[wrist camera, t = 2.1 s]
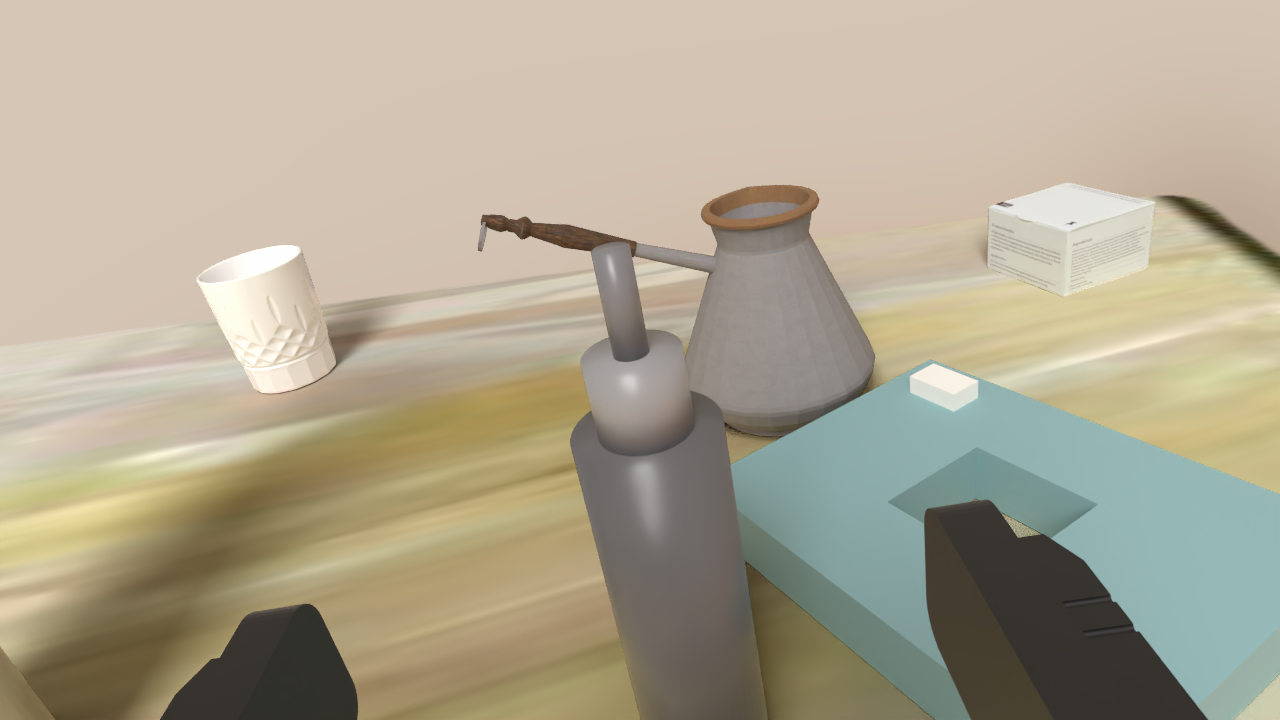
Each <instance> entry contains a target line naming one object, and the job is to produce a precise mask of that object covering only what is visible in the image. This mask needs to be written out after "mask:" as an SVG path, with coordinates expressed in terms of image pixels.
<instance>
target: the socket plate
mask: <svg viewBox="0 0 1280 720" xmlns="http://www.w3.org/2000/svg"><path fill="white" fill-rule="evenodd" d="M730 466H731V472H732V479H733V486H734V493H735V499H736V506H737V513H738V520H739V526H740V533H741V540H742V547H743V553H744V560H745V561H746V562H747V563H749V564H750V565H751V566H752V567H753V568H754V569H756V570H757V571H758V572H759V573H760V574H762V575H763V576H764V577H765V578H766V579H768V580H769V581H770V582H771V583H772V584H774V585H775V586H776V587H777V588H778V589H780V590H781V591H782V592H783V593H784V594H786V595H787V596H788V597H789V598H790V599H792V600H793V601H794V602H795V603H796V604H798V605H799V606H800V607H801V608H802V609H803V610H805V611H806V612H807V613H808V614H809V615H811V616H812V617H813V618H814V619H815V620H817V621H818V622H819V623H820V624H821V625H823V626H824V627H825V628H826V629H827V630H829V631H830V632H831V633H832V634H833V635H835V636H836V637H837V638H838V639H839V640H841V641H842V642H843V643H844V644H845V645H846V646H848V647H849V648H850V649H851V650H852V651H854V652H855V653H856V654H857V655H858V656H860V657H861V658H862V659H863V660H864V661H866V662H867V663H868V664H869V665H870V666H872V667H873V668H874V669H875V670H876V671H878V672H879V673H880V674H881V675H882V676H884V677H885V678H886V679H887V680H888V681H890V682H891V683H892V684H893V685H894V686H895V687H897V688H898V689H899V690H900V691H901V692H903V693H904V694H905V695H906V696H907V697H909V698H910V699H911V700H912V701H913V702H915V703H916V704H917V705H918V706H919V707H921V708H922V709H923V710H924V711H925V712H927V713H928V714H929V715H930V716H931V717H933V718H934V719H935V720H971V718H970V716H969V714H968V712H967V710H966V708H965V706H964V703H963V701H962V699H961V697H960V695H959V693H958V690H957V688H956V686H955V684H954V682H953V680H952V677H951V675H950V673H949V671H948V669H947V667H946V664H945V662H944V660H943V658H942V656H941V654H940V651H939V649H938V646H937V644H936V641H935V638H934V635H933V632H932V628H931V624H930V620H929V615H928V609H927V602H926V574H925V539H924V515H925V511H926V510H927V509H928V508H934V507H940V506H946V505H953V504H959V503H966V502H971V501H973V500H974V499H977V500H985V499H987V500H990V501H991V502H992V503H994V505H995V506H996V507H997V508H998V510H999V511H1000V512H1002V513H1004V514H1006V515H1008V516H1009V517H1011V518H1013V519H1015V520H1017V521H1019V522H1021V523H1023V524H1024V525H1026V526H1028V527H1030V528H1032V529H1034V530H1036V531H1038V532H1040V533H1041V534H1045V535H1046V536H1048V537H1049V538H1051V539H1052V540H1054V541H1055V542H1057V543H1058V544H1060V545H1061V546H1063V547H1065V548H1066V549H1068V550H1069V551H1071V552H1072V553H1074V554H1075V555H1077V556H1078V557H1080V558H1081V559H1083V560H1084V561H1085V562H1086V563H1087V565H1088V566H1089V567H1090V569H1091V570H1092V571H1093V572H1094V574H1095V575H1096V576H1097V578H1098V579H1099V580H1100V581H1101V583H1102V584H1103V585H1104V587H1105V588H1106V589H1107V590H1108V592H1109V593H1110V594H1111V599H1112V601H1113V602H1117V603H1118V605H1119V606H1120V607H1121V608H1122V610H1123V611H1124V612H1125V614H1126V615H1127V616H1128V617H1129V619H1130V620H1131V621H1132V623H1133V626H1134V629H1135V631H1136V632H1137V631H1140V633H1141V634H1142V635H1143V637H1144V638H1145V639H1146V640H1147V642H1148V643H1149V644H1150V646H1151V647H1152V648H1153V649H1154V651H1155V652H1156V653H1157V655H1158V656H1159V657H1160V658H1161V660H1162V661H1163V662H1164V664H1165V665H1166V666H1167V667H1168V669H1169V670H1170V671H1171V673H1172V674H1173V675H1174V676H1175V678H1176V679H1177V680H1178V682H1179V683H1180V684H1181V685H1182V687H1183V688H1184V689H1185V691H1186V692H1187V693H1188V694H1189V696H1190V697H1191V698H1192V700H1193V701H1194V702H1195V703H1196V705H1197V706H1198V707H1199V709H1200V710H1201V711H1202V712H1203V714H1204V715H1205V716H1206V718H1207V719H1208V720H1234V719H1235V718H1236V717H1237V716H1238V715H1239V714H1240V713H1241V712H1242V711H1243V710H1244V709H1245V708H1246V707H1247V706H1248V705H1249V704H1250V703H1251V702H1252V701H1253V700H1254V699H1255V698H1256V697H1257V696H1258V695H1259V694H1260V693H1261V692H1262V691H1263V690H1264V689H1265V688H1266V687H1267V686H1268V685H1269V684H1270V683H1271V682H1272V681H1273V680H1274V679H1275V678H1276V677H1277V676H1278V675H1279V674H1280V494H1278V493H1275V492H1272V491H1270V490H1267V489H1265V488H1262V487H1259V486H1257V485H1254V484H1252V483H1249V482H1246V481H1244V480H1241V479H1239V478H1236V477H1234V476H1231V475H1228V474H1226V473H1223V472H1221V471H1218V470H1215V469H1213V468H1210V467H1208V466H1205V465H1202V464H1200V463H1197V462H1195V461H1192V460H1189V459H1187V458H1184V457H1182V456H1179V455H1177V454H1174V453H1171V452H1169V451H1166V450H1164V449H1161V448H1158V447H1156V446H1153V445H1151V444H1148V443H1145V442H1143V441H1140V440H1138V439H1135V438H1133V437H1130V436H1127V435H1125V434H1122V433H1120V432H1117V431H1114V430H1112V429H1109V428H1107V427H1104V426H1101V425H1099V424H1096V423H1094V422H1091V421H1089V420H1086V419H1083V418H1081V417H1078V416H1076V415H1073V414H1070V413H1068V412H1065V411H1063V410H1060V409H1057V408H1055V407H1052V406H1050V405H1047V404H1045V403H1042V402H1039V401H1037V400H1034V399H1032V398H1029V397H1026V396H1024V395H1021V394H1019V393H1016V392H1013V391H1011V390H1008V389H1006V388H1003V387H1000V386H998V385H995V384H993V383H990V382H988V381H985V380H982V379H980V378H977V377H975V376H972V375H969V374H967V373H964V372H962V371H959V370H956V369H954V368H951V367H949V366H946V365H944V364H941V363H938V362H936V361H933V360H931V359H930V360H929V361H927V362H925V363H923V364H921V365H919V366H917V367H915V368H913V369H911V370H910V371H908V372H906V373H904V374H902V375H900V376H898V377H896V378H894V379H892V380H891V381H889V382H887V383H885V384H883V385H881V386H879V387H877V388H875V389H873V390H872V391H870V392H868V393H866V394H864V395H862V396H860V397H858V398H856V399H854V400H853V401H851V402H849V403H847V404H845V405H843V406H841V407H839V408H837V409H835V410H834V411H832V412H830V413H828V414H826V415H824V416H822V417H820V418H818V419H816V420H815V421H813V422H811V423H809V424H807V425H805V426H803V427H801V428H799V429H797V430H796V431H794V432H792V433H790V434H788V435H786V436H784V437H782V438H780V439H778V440H777V441H775V442H773V443H771V444H769V445H767V446H765V447H763V448H761V449H759V450H758V451H756V452H754V453H752V454H750V455H748V456H746V457H744V458H742V459H740V460H739V461H737V462H735V463H733V464H731V465H730Z"/></svg>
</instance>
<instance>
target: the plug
mask: <svg viewBox="0 0 1280 720" xmlns="http://www.w3.org/2000/svg"><path fill="white" fill-rule="evenodd" d="M591 255H592V260H593V264H594V270H595V274H596V279H597V284H598V288H599V293H600V298H601V302H602V307H603V312H604V316H605V321H606V326H607V330H608V335H609V337H608V338H606V339H604V340H601V341H600V342H598V343H596V344H594V345H593V346H591V347H590V348H589V349H588V350H587V351H586V352H585V353H584V354H583V356H582V358H581V368H582V373H583V377H584V381H585V385H586V390H587V394H588V398H589V402H590V406H591V411H590V412H589V413H587V414H586V415H585V416H584V417H583V418H582V419H581V420H580V421H579V422H578V423H577V425H576V426H575V428H574V430H573V432H572V435H571V439H570V445H571V449H572V453H573V457H574V461H575V465H576V469H577V473H578V477H579V480H580V484H581V488H582V492H583V496H584V500H585V504H586V508H587V512H588V516H589V519H590V523H591V527H592V531H593V535H594V539H595V543H596V547H597V551H598V555H599V559H600V562H601V566H602V570H603V574H604V578H605V582H606V586H607V590H608V594H609V598H610V601H611V605H612V609H613V613H614V617H615V621H616V625H617V629H618V633H619V637H620V640H621V644H622V648H623V652H624V656H625V660H626V664H627V668H628V672H629V676H630V679H631V683H632V687H633V691H634V695H635V699H636V703H637V707H638V711H639V715H640V718H641V720H768V716H767V709H766V702H765V695H764V689H763V682H762V675H761V668H760V662H759V655H758V648H757V641H756V635H755V628H754V621H753V614H752V608H751V601H750V594H749V587H748V581H747V574H746V567H745V560H744V553H743V547H742V540H741V533H740V526H739V520H738V513H737V506H736V499H735V493H734V486H733V479H732V472H731V466H730V459H729V452H728V445H727V438H726V432H725V425H724V418H723V414H722V411H721V409H720V407H719V406H718V405H717V404H716V403H715V402H714V401H713V400H712V399H710V398H709V397H707V396H705V395H703V394H700V393H697V392H694V391H690V387H689V381H688V375H687V369H686V363H685V357H684V351H683V345H682V342H681V340H680V339H679V338H678V337H677V336H675V335H673V334H671V333H668V332H665V331H659V330H646V329H645V324H644V318H643V313H642V308H641V302H640V297H639V292H638V287H637V281H636V276H635V271H634V266H633V260H632V255H631V250H630V245H629V244H628V243H626V242H610V243H606V244H602V245H600V246H597V247H595V248H594V249H593V250H592V251H591Z"/></svg>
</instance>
